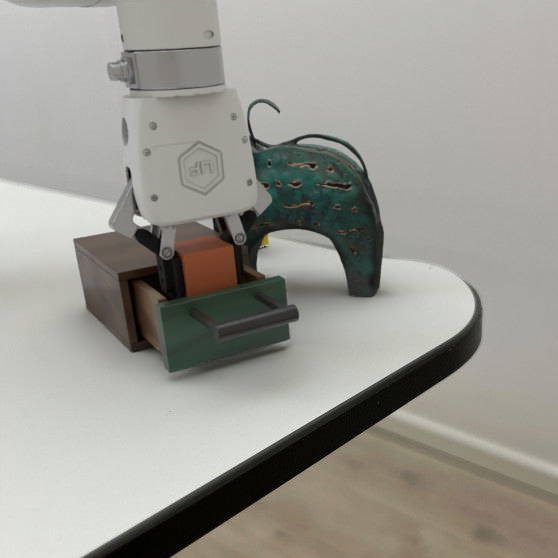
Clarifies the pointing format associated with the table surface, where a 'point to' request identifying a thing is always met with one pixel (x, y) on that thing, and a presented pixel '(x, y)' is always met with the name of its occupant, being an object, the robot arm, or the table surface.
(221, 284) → the block
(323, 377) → the table surface
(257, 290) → the drawer
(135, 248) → the cabinet
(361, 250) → the ceramic cat
